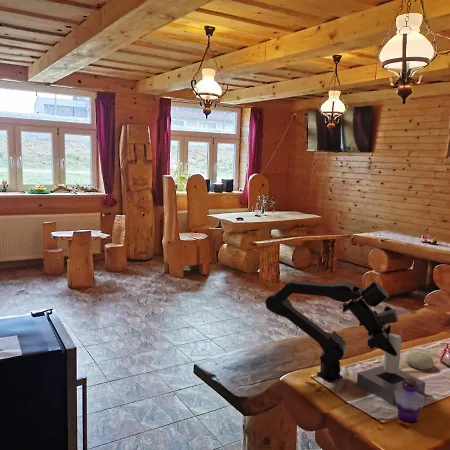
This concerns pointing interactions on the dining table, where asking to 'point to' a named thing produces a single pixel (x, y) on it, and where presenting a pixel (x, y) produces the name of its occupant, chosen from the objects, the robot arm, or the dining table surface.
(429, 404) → the dining table surface
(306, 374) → the dining table surface
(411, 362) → the sea urchin shell
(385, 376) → the block
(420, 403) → the potion bottle
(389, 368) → the beverage can
